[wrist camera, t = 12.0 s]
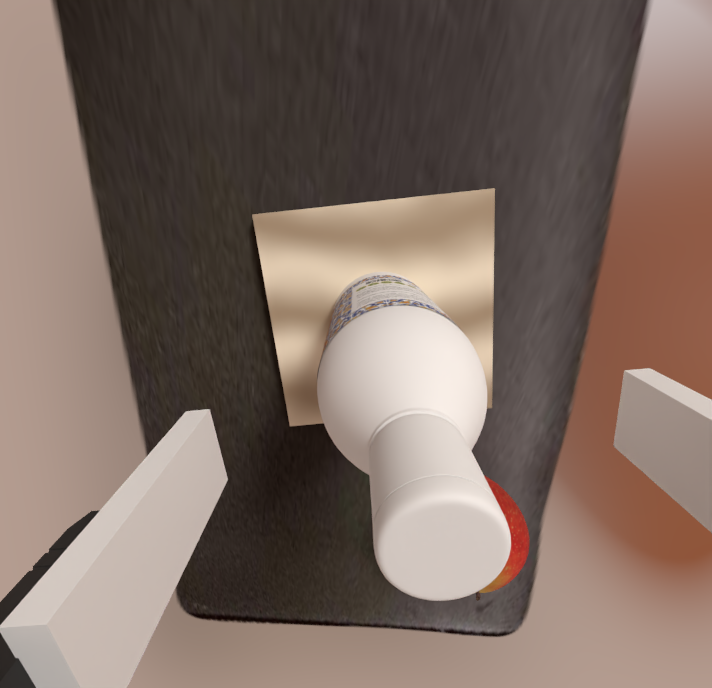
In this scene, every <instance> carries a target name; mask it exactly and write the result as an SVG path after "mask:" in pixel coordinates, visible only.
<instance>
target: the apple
mask: <svg viewBox="0 0 712 688" xmlns="http://www.w3.org/2000/svg"><path fill="white" fill-rule="evenodd" d="M484 477H485V479H486V481H487V483H488V485H489V487H490V489H491V490H492V492H493V494H494V496H495V498H496V500H497V502H498V504H499V506H500V508H501V510H502V512H503V514H504V516H505V518H506V521H507V524H508V527H509V530H510V536H511V550H510V555H509V558H508V560H507V562H506V565H505V566H504V568H503V570H502V571H501V573H500V574H499V575H498V576H497V577H496V578H495V579H494V580H493V581H492V582H491V583H490V584H489V585H487V586H486V587H484V588H483V589H481V590H480V591H478V592H476V600H477V601H478V600H480V593H486V592H491V591H494V590H497V589H499V588H501V587H503V586H505V585H506V584H507V583H509V582H510V581H511V580H513V579H514V578H515V577H516V576H517V575H518V573H519V572H520V570H521V569H522V567H523V566H524V564H525V561H526V559H527V555H528V552H529V534H528V529H527V525H526V522H525V520H524V517H523V515H522V513H521V511H520V509H519V508H518V506H517V505H516V503H515V502H514V501H513V499H512V498H511V497H510V496H509V495H508V494H507V493H506V492H505V491H504V490H503V489H502V488H501V487H500V486H499V485H498V484H497V483H495V482H494V481H492V480H491V479H489V478H488V477H486V476H484Z"/></svg>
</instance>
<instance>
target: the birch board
mask: <svg viewBox="0 0 712 688" xmlns="http://www.w3.org/2000/svg"><path fill="white" fill-rule="evenodd" d="M494 212H495V188H493V189H484V190H475V191H465V192H456V193H447V194H438V195H429V196H419V197H410V198H401V199H392V200H383V201H374V202H364V203H355V204H346V205H337V206H328V207H318V208H309V209H300V210H291V211H282V212H272V213H263V214H254V215H252V217H253V222H254V228H255V234H256V239H257V245H258V250H259V256H260V262H261V267H262V273H263V278H264V284H265V290H266V295H267V301H268V306H269V312H270V318H271V323H272V329H273V334H274V340H275V346H276V351H277V357H278V362H279V368H280V374H281V379H282V385H283V390H284V396H285V402H286V407H287V413H288V418H289V424H290V426H300V425H311V424H321V423H324V422H323V420H322V417H321V413H320V409H319V404H318V396H317V373H318V368H319V364H320V360H321V356H322V352H323V348H324V344H325V340H326V336H327V332H328V328H329V324H330V320H331V316H332V313H333V310H334V306H335V304H336V301H337V299H338V297H339V296H340V294H341V293H342V291H343V290H344V289H345V288H346V287H347V286H348V285H349V284H350V283H351V282H352V281H354V280H355V279H357V278H359V277H361V276H363V275H366V274H369V273H373V272H391V273H396V274H399V275H401V276H404V277H406V278H407V279H409V280H411V281H412V282H413V283H414V284H416V285H417V286H418V287H419V288H420V289H421V290H422V291H423V292H424V293H425V294H426V295H427V296H428V297H429V298H430V299H431V300H432V301H433V302H434V303H435V304H436V305H437V306H438V307H439V308H440V309H441V310H442V311H443V312H444V313H445V314H446V315H447V316H448V317H449V318H450V319H451V320H452V321H453V322H454V323H456V324H457V325H458V326H459V327H460V328H461V329H462V330H463V331H464V332H465V333H464V332H463V331H462V330H461V331H462V332H463V333H464V334H465V335H466V337H467V338H468V339H469V341H470V342H471V344H472V345H473V347H474V349H475V350H476V352H477V354H478V357H479V359H480V361H481V364H482V367H483V370H484V374H485V379H486V385H487V408H492V361H493V286H494Z"/></svg>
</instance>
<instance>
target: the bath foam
mask: <svg viewBox="0 0 712 688" xmlns="http://www.w3.org/2000/svg"><path fill="white" fill-rule="evenodd" d="M461 330H462V329H461V328H460V327H459V326H458V325H457V324H456V323H454V322H453V321H452V320H451V319H450V318H449V317H448V316H447V315H446V314H445V313H444V312H443V311H442V310H441V309H440V308H439V307H438V306H437V305H436V304H435V303H434V302H433V301H432V300H431V299H430V298H429V297H428V296H427V295H426V294H425V293H424V292H423V291H422V290H421V289H420V288H419V287H418V286H417V285H416V284H414V283H413V282H412V281H411V280H409V279H407V278H406V277H404V276H401V275H399V274H396V273H391V272H373V273H369V274H366V275H363V276H361V277H359V278H357V279H355V280H354V281H352V282H351V283H350V284H349V285H348V286H347V287H346V288H345V289H344V290H343V291H342V293H341V294H340V296H339V297H338V299H337V301H336V304H335V306H334V310H333V313H332V316H331V320H330V324H329V328H328V332H327V336H326V340H325V344H324V348H323V352H322V356H321V360H320V364H319V368H318V373H317V396H318V404H319V409H320V413H321V417H322V420H323V422H324V425H325V427H326V430H327V432H328V434H329V435H330V437H331V439H332V441H333V442H334V444H335V445H336V447H337V448H338V449H339V450H340V451H341V453H342V454H343V455H344V456H345V457H346V458H347V459H348V460H349V461H350V462H351V463H353V464H354V465H355V466H356V467H358V468H359V469H360V470H362V471H363V472H365V473H367V474H368V475H370V492H371V505H372V523H373V544H374V552H375V557H376V560H377V563H378V565H379V568H380V570H381V572H382V573H383V575H384V576H385V577H386V579H387V580H388V581H389V582H390V583H391V584H392V585H394V586H395V587H396V588H398V589H399V590H401V591H402V592H404V593H406V594H408V595H411V596H413V597H416V598H420V599H425V600H433V601H445V600H453V599H458V598H462V597H466V596H469V595H471V594H473V593H476V592H478V591H480V590H481V589H483V588H484V587H486V586H487V585H489V584H490V583H491V582H492V581H493V580H494V579H495V578H496V577H497V576H498V575H499V574H500V573H501V571H502V570H503V568H504V566H505V565H506V562H507V560H508V558H509V555H510V550H511V536H510V530H509V527H508V524H507V521H506V518H505V516H504V514H503V512H502V510H501V508H500V506H499V504H498V502H497V500H496V498H495V496H494V494H493V492H492V490H491V489H490V487H489V485H488V483H487V481H486V479H485V477H484V475H483V473H482V471H481V469H480V467H479V465H478V463H477V461H476V459H475V457H474V455H473V454H472V452H471V450H472V449H473V447H474V445H475V443H476V441H477V439H478V437H479V435H480V433H481V430H482V427H483V424H484V420H485V416H486V410H487V385H486V379H485V374H484V370H483V367H482V364H481V361H480V359H479V357H478V354H477V352H476V350H475V349H474V347H473V345H472V344H471V342H470V341H469V339H468V338H467V337H466V335H465V334H464V333H465V332H464V331H463V330H462V331H463V332H464V333H463V332H462V331H461Z"/></svg>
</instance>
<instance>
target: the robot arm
mask: <svg viewBox="0 0 712 688" xmlns="http://www.w3.org/2000/svg"><path fill="white" fill-rule="evenodd" d="M614 447H615V448H616V449H617V450H618V451H620V452H621V453H622V454H623V455H624V456H625V457H627V458H628V459H629V460H630V461H631V462H632V463H633V464H634V465H635V466H637V467H638V468H639V469H640V470H641V471H642V472H644V473H645V474H646V475H647V476H648V477H649V478H650V479H651V480H653V481H654V482H655V483H656V484H657V485H658V486H659V487H660V488H662V489H663V490H664V491H665V492H666V493H667V494H668V495H669V496H671V497H672V498H673V499H674V500H675V501H676V502H677V503H679V504H680V505H681V506H682V507H683V508H684V509H685V510H686V511H688V512H689V513H690V514H691V515H692V516H693V517H694V518H695V519H697V520H698V521H699V522H700V523H701V524H702V525H703V526H704V527H706V528H707V529H708V530H709V531H710V532H712V400H711V399H709V398H707V397H705V396H702V395H701V394H699V393H697V392H695V391H693V390H691V389H689V388H687V387H685V386H683V385H681V384H679V383H677V382H676V381H673V380H672V379H670V378H668V377H666V376H664V375H662V374H660V373H658V372H656V371H654V370H652V369H650V368H646V369H635V370H625V371H624V377H623V384H622V391H621V398H620V405H619V411H618V418H617V425H616V432H615V440H614ZM227 480H228V478H227V474H226V471H225V467H224V463H223V459H222V455H221V451H220V448H219V444H218V440H217V436H216V432H215V428H214V424H213V421H212V417H211V413H210V409H206V410H196V411H186V412H185V413H184V414H183V416H182V417H181V418H180V419H179V420H178V421H177V423H176V424H175V425H174V426H173V427H172V428H171V429H170V431H169V432H168V433H167V434H166V435H165V436H164V437H163V439H162V440H161V441H160V442H159V443H158V444H157V446H156V447H155V448H154V449H153V450H152V451H151V452H150V454H149V455H148V456H147V457H146V458H145V460H143V462H142V463H141V464H140V465H139V466H138V467H137V469H136V470H135V471H134V472H133V473H132V474H131V475H130V477H129V478H128V479H127V480H126V481H125V482H124V483H123V485H122V486H121V487H120V488H119V489H118V490H117V492H116V493H115V494H114V495H113V496H112V497H111V498H110V500H109V501H108V502H107V503H106V504H105V505H104V507H103V508H102V509H101V510H100V511H91V512H90V513H89V514H87V515H86V516H85V517H83V518H82V519H81V520H79V521H78V522H76V523H75V524H74V525H72V526H71V527H70V528H68V529H67V530H66V531H65V532H64V534H63V535H62V536H61V537H60V538H59V539H58V540H57V541H56V542H55V543H54V545H53V546H52V547H51V548H50V549H49V552H48V553H45V554H44V555H43V556H42V557H41V559H40V560H39V561H38V562H37V563H36V564H35V565H34V566H33V570H32V571H29V572H28V573H27V574H26V575H25V576H24V577H23V578H22V579H21V580H20V581H19V582H18V583H17V585H16V586H15V587H14V588H13V589H12V590H11V591H10V592H9V593H8V594H7V596H6V597H5V598H4V599H3V600H2V601H1V602H0V688H127V687H128V685H129V683H130V681H131V679H132V676H133V675H134V672H135V670H136V668H137V666H138V664H139V662H140V660H141V658H142V656H143V654H144V652H145V650H146V647H147V646H148V644H149V641H150V639H151V637H152V635H153V633H154V631H155V629H156V627H157V625H158V623H159V621H160V619H161V617H162V615H163V612H164V611H165V608H166V606H167V604H168V602H169V600H170V598H171V596H172V594H173V592H174V590H175V588H176V586H177V584H178V582H179V580H180V577H181V575H182V573H183V571H184V569H185V567H186V565H187V563H188V561H189V559H190V557H191V555H192V553H193V551H194V549H195V547H196V544H197V542H198V540H199V538H200V536H201V534H202V532H203V530H204V528H205V526H206V524H207V522H208V520H209V518H210V516H211V513H212V511H213V509H214V507H215V505H216V503H217V501H218V499H219V497H220V495H221V493H222V491H223V489H224V487H225V485H226V482H227Z"/></svg>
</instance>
